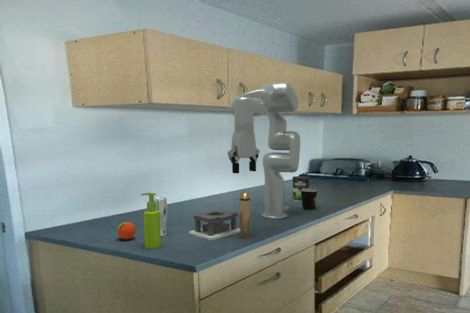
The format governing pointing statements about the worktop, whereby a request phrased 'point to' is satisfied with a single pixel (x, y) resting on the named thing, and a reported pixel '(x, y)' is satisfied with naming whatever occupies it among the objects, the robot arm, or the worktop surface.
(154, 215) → the soap dispenser
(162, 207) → the beer glass
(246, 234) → the thermos bottle
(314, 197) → the coffee mug
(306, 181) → the coffee can
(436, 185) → the worktop surface
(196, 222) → the collar stand
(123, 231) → the clementine
